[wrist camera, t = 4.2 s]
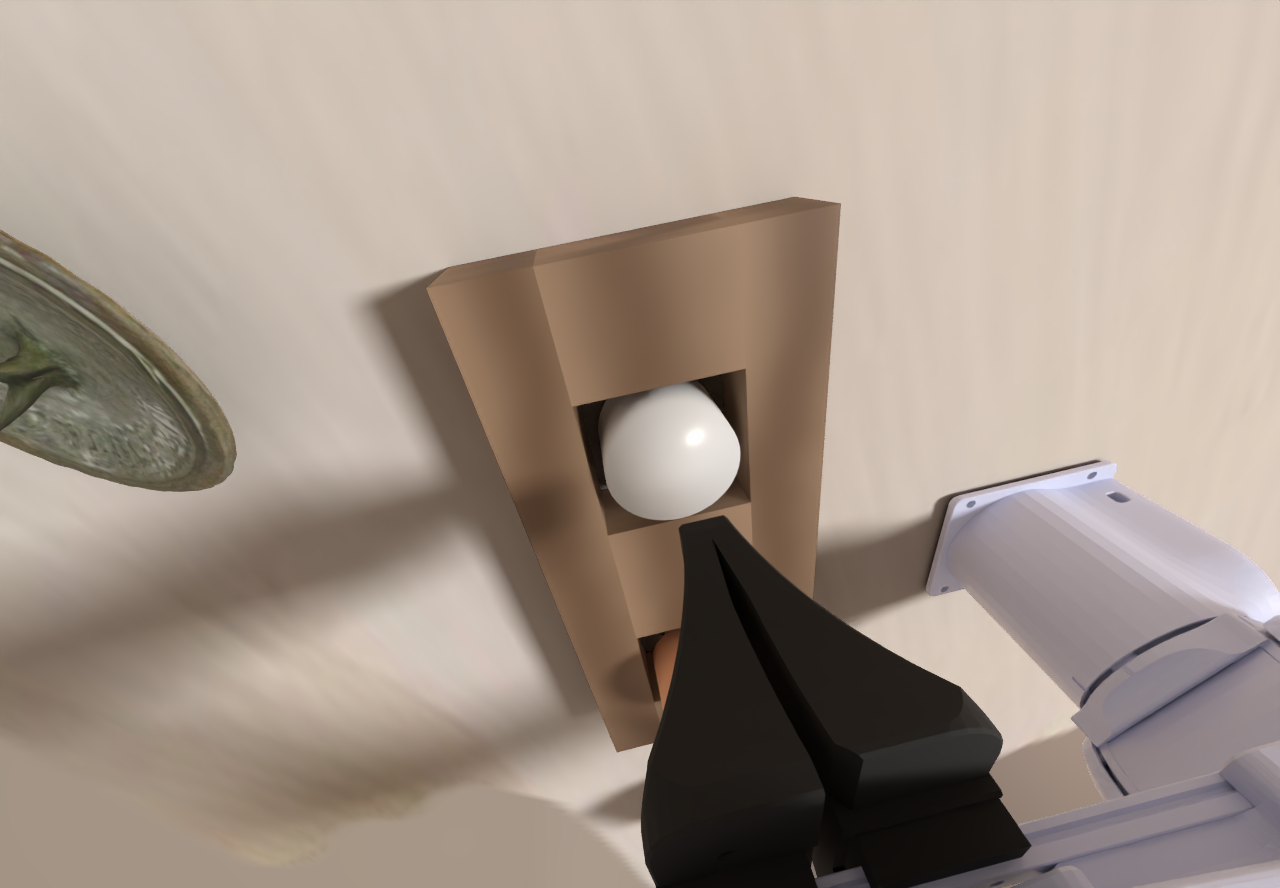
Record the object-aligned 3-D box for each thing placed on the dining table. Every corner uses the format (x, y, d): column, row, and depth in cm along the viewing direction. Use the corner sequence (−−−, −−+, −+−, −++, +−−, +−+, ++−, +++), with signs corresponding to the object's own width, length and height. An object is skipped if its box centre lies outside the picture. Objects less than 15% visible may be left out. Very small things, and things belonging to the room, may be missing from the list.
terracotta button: (741, 608, 23) (764, 664, 21) (744, 663, 26) (766, 719, 23) (645, 631, 23) (657, 691, 20) (659, 684, 26) (671, 743, 23)
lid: (339, 353, 16) (263, 421, 12) (200, 517, 19) (96, 621, 14) (-87, 57, 11) (-482, -7, 7) (-200, 338, 13) (-541, 417, 9)
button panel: (794, 196, 16) (841, 203, 13) (785, 660, 31) (805, 704, 28) (448, 267, 15) (425, 288, 13) (612, 703, 30) (616, 752, 28)
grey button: (710, 357, 18) (737, 391, 15) (719, 460, 21) (743, 503, 18) (585, 384, 18) (590, 423, 15) (611, 485, 20) (619, 532, 18)
